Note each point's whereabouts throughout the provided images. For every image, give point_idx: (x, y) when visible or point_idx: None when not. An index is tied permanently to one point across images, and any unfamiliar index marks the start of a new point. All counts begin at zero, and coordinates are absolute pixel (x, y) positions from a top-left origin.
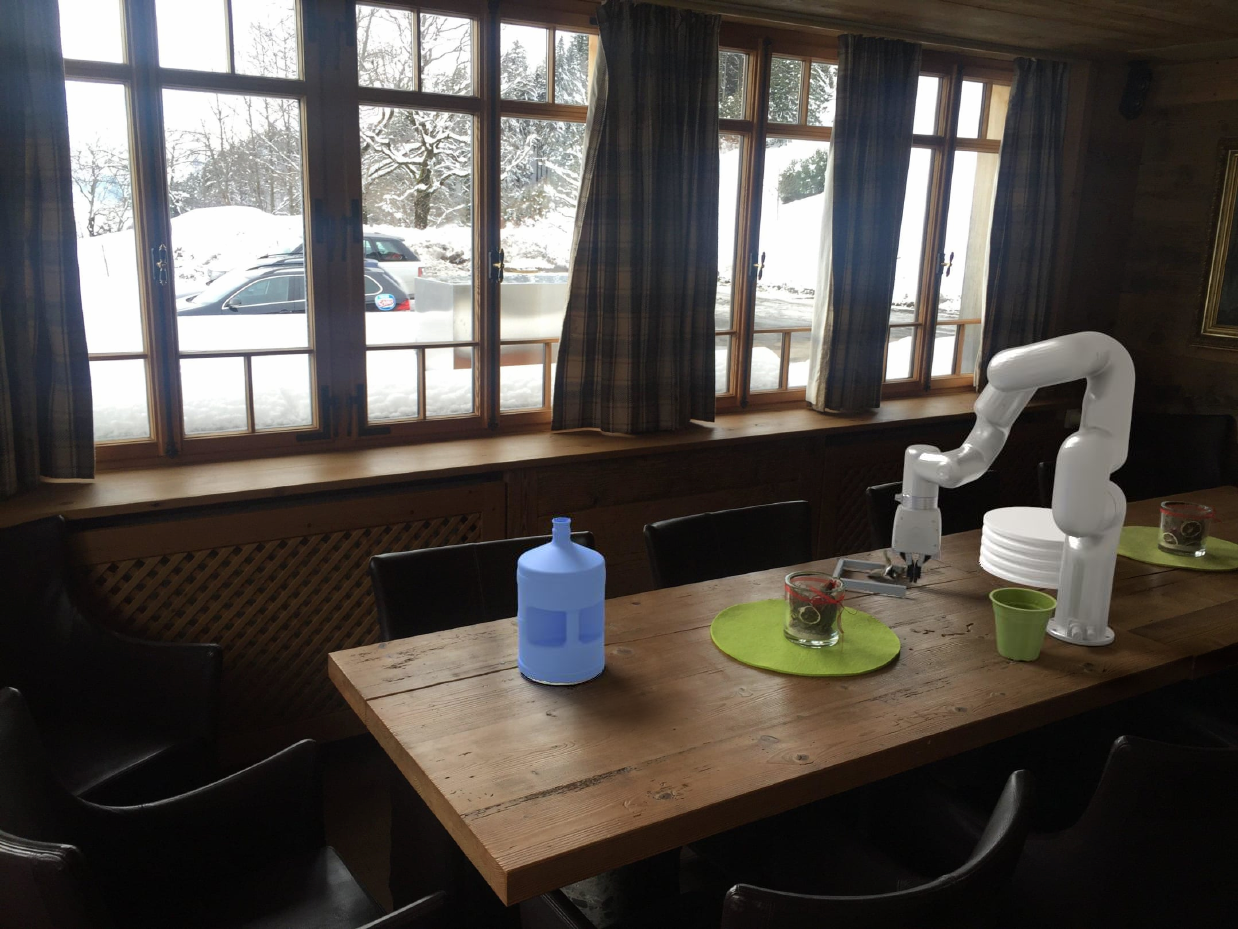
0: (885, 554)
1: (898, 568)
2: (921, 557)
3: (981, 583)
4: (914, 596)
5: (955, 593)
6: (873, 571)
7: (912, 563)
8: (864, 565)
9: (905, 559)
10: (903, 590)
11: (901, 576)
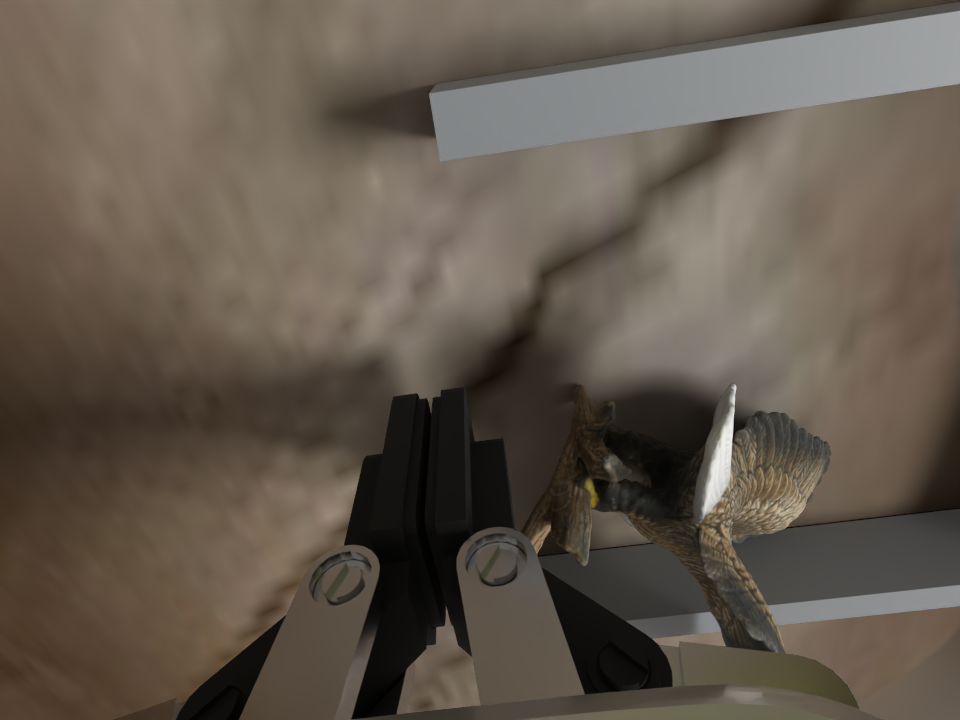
0: None
1: (605, 606)
2: (301, 681)
3: (95, 652)
4: (372, 213)
5: (119, 447)
6: (808, 484)
7: (452, 572)
8: (866, 569)
9: (556, 603)
10: (460, 85)
11: (557, 470)
